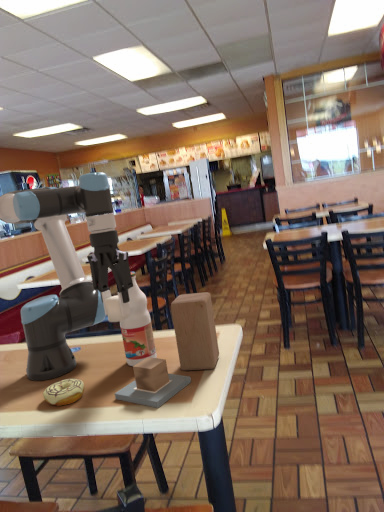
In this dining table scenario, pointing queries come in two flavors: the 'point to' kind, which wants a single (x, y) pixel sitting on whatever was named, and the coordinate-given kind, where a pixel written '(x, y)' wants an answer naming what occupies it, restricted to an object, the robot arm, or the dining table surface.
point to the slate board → (150, 397)
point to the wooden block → (195, 331)
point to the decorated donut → (64, 392)
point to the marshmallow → (114, 309)
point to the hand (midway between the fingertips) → (117, 313)
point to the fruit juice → (137, 328)
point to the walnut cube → (151, 374)
